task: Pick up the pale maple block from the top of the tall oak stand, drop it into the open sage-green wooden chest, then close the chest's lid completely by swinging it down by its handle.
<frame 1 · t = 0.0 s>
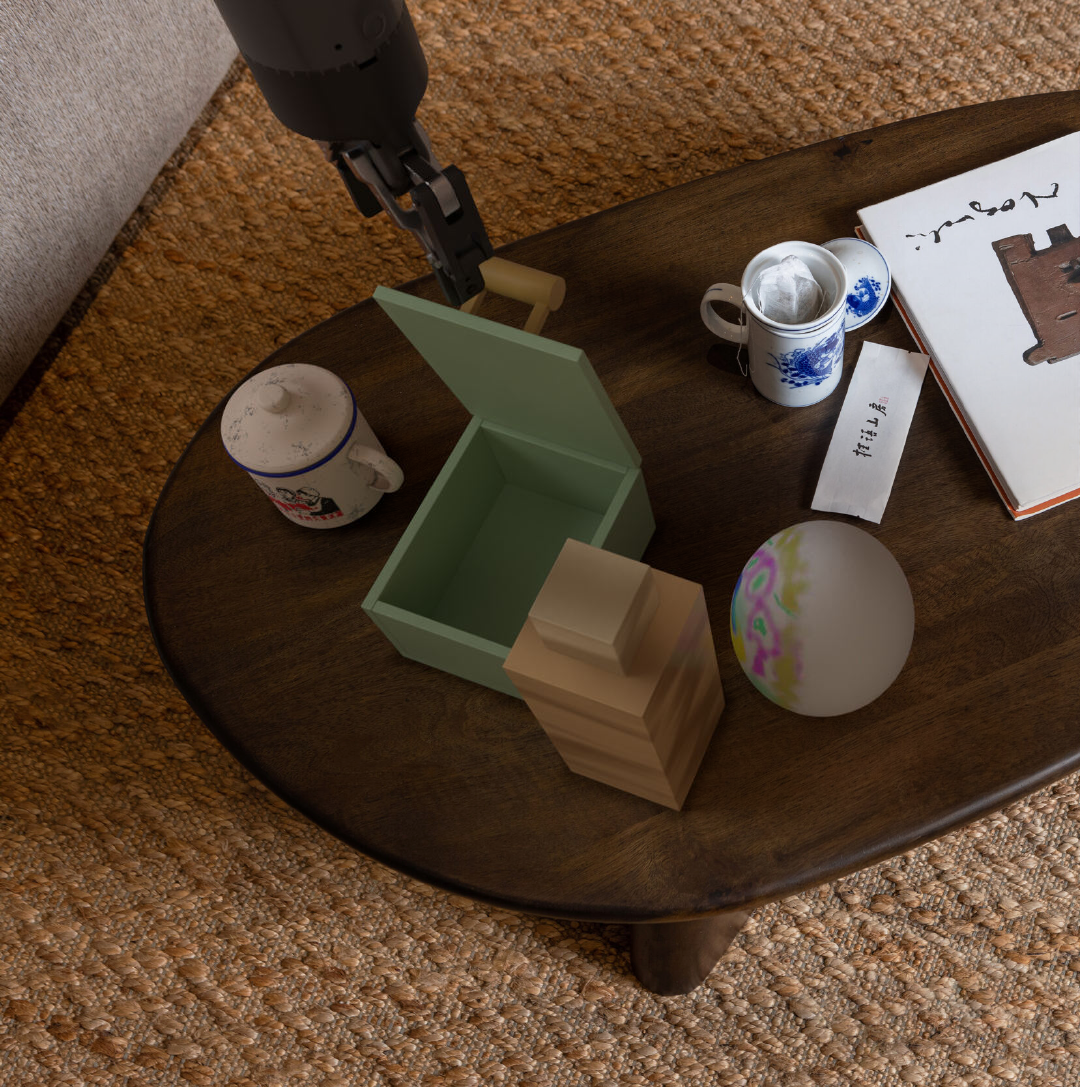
hand: (422, 250, 66), 26 cm above the table, tool pointing down, fingers open, 8 cm apart
block: (604, 625, 63), point 20 cm above the table, touching stand
stand: (649, 737, 81), on the table
chest: (533, 590, 85), on the table
decorative egg: (821, 653, 84), on the table
lid: (535, 353, 73), point 18 cm above the table, hinge at 80.0°
teacup with lid: (351, 487, 89), on the table
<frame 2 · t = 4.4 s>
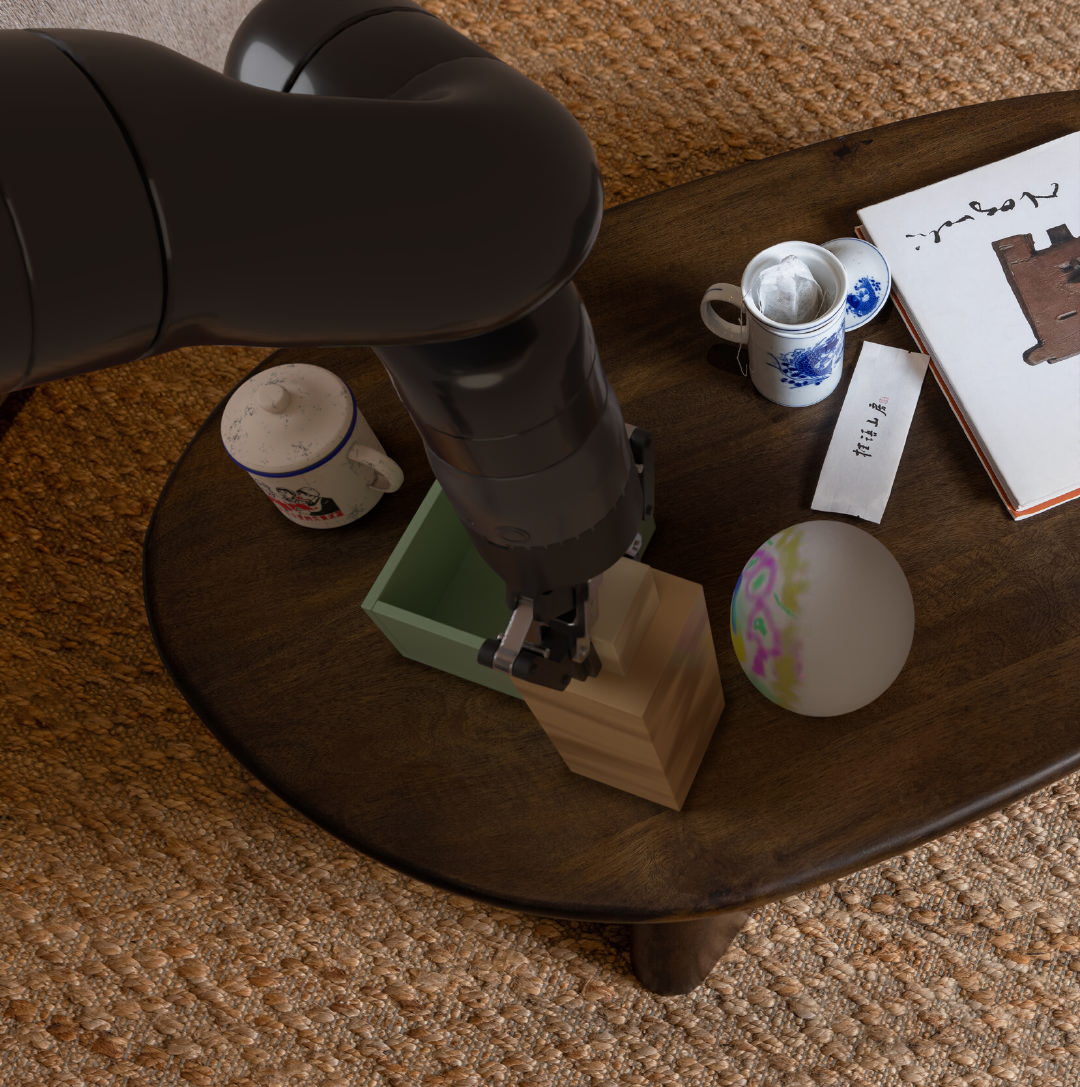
hand: (602, 623, 62), 20 cm above the table, tool pointing down, fingers closed on block, 4 cm apart
block: (603, 625, 63), point 20 cm above the table, touching gripper, stand
everything else where it was.
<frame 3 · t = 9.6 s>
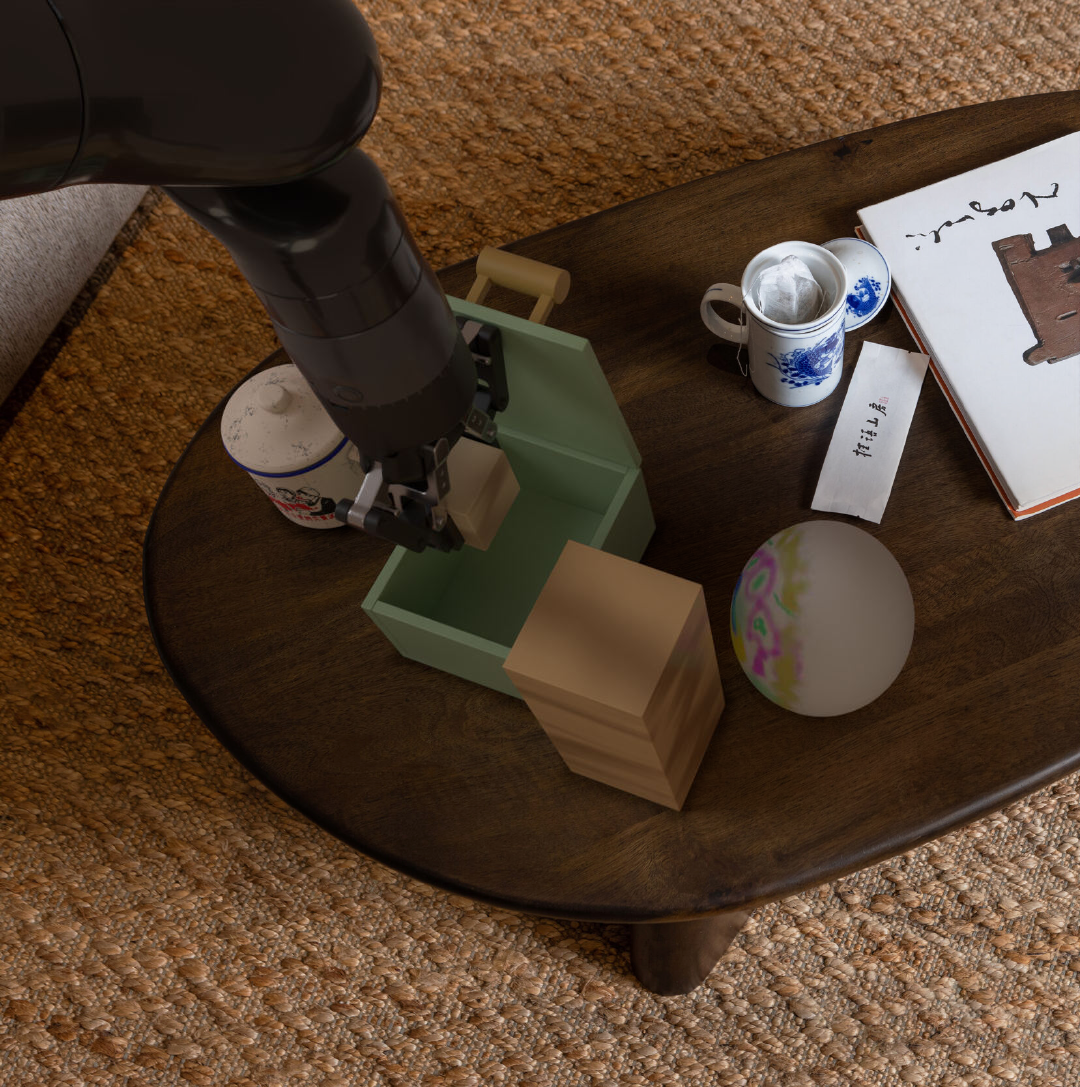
hand: (468, 505, 71), 15 cm above the table, tool pointing down, fingers closed on block, 4 cm apart
block: (469, 508, 71), point 15 cm above the table, touching gripper
lid: (538, 349, 73), point 18 cm above the table, hinge at 82.4°
everything else where it was.
when the fingers open (7 cm above the table, at t = 12.0 s): block drops 6 cm, resting on chest.
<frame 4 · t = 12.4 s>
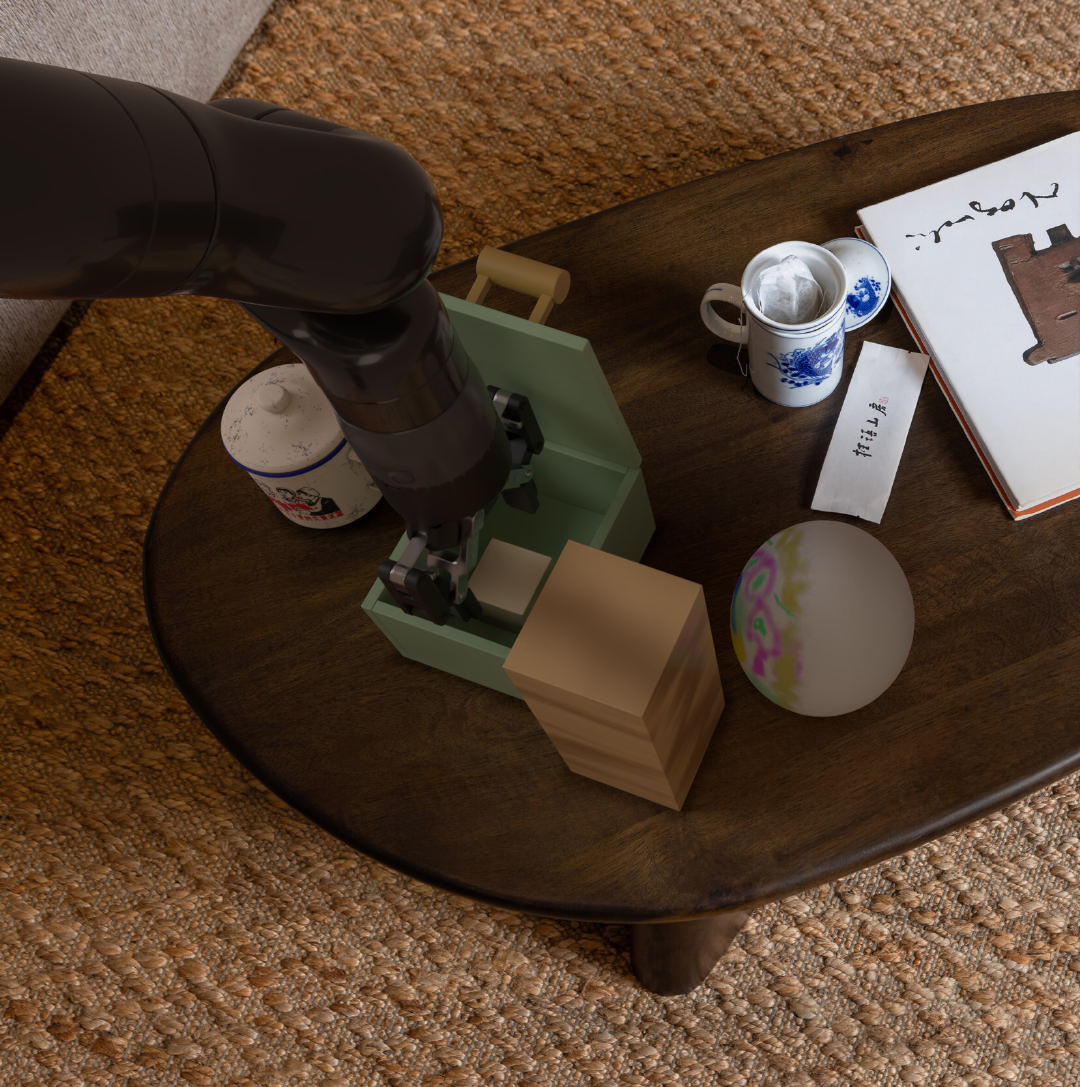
hand: (496, 557, 77), 8 cm above the table, tool pointing down, fingers open, 7 cm apart
block: (521, 602, 84), point 1 cm above the table, touching chest
everything else where it was.
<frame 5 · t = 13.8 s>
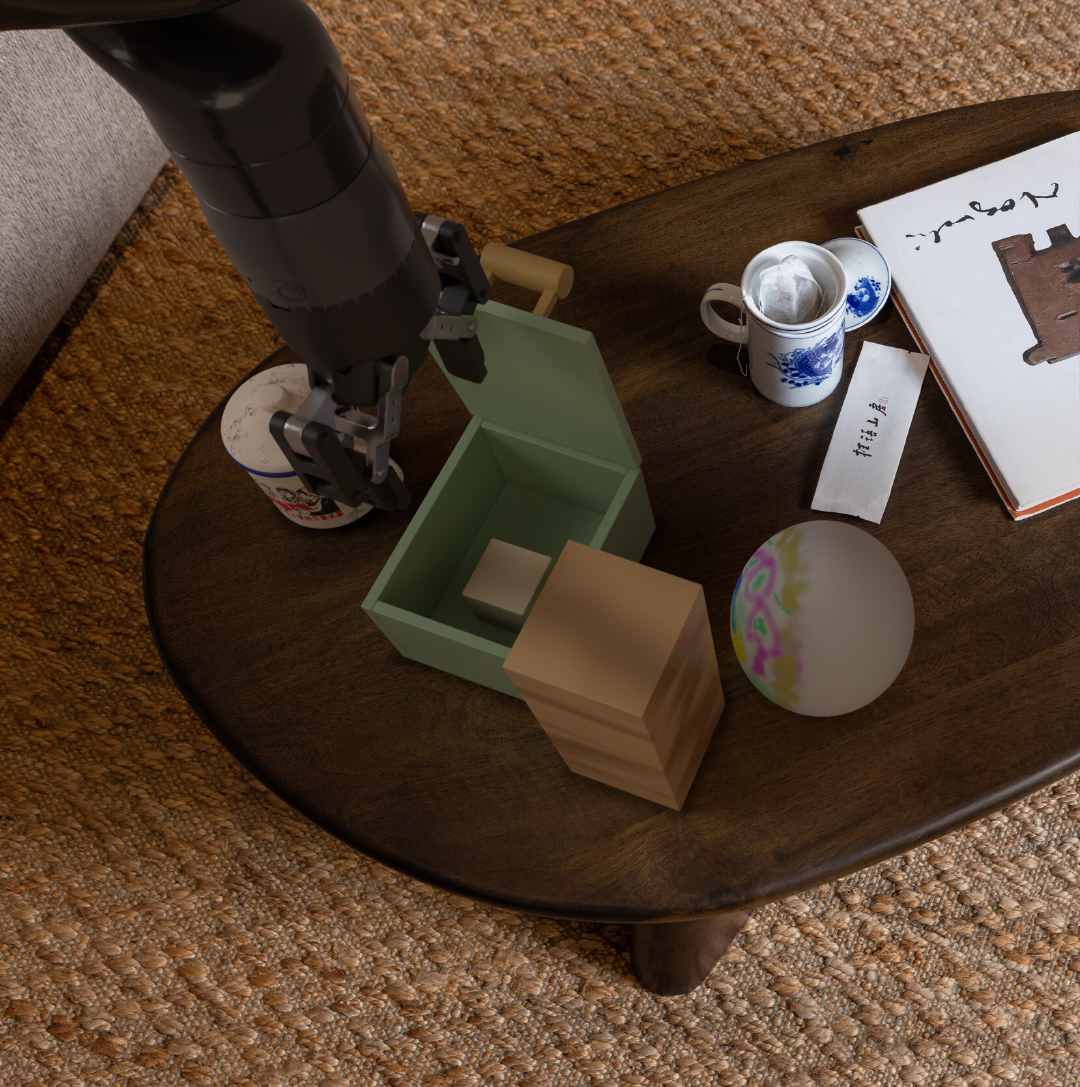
hand: (431, 436, 64), 23 cm above the table, tool pointing down, fingers open, 8 cm apart
lid: (540, 347, 74), point 18 cm above the table, hinge at 84.1°
everything else where it was.
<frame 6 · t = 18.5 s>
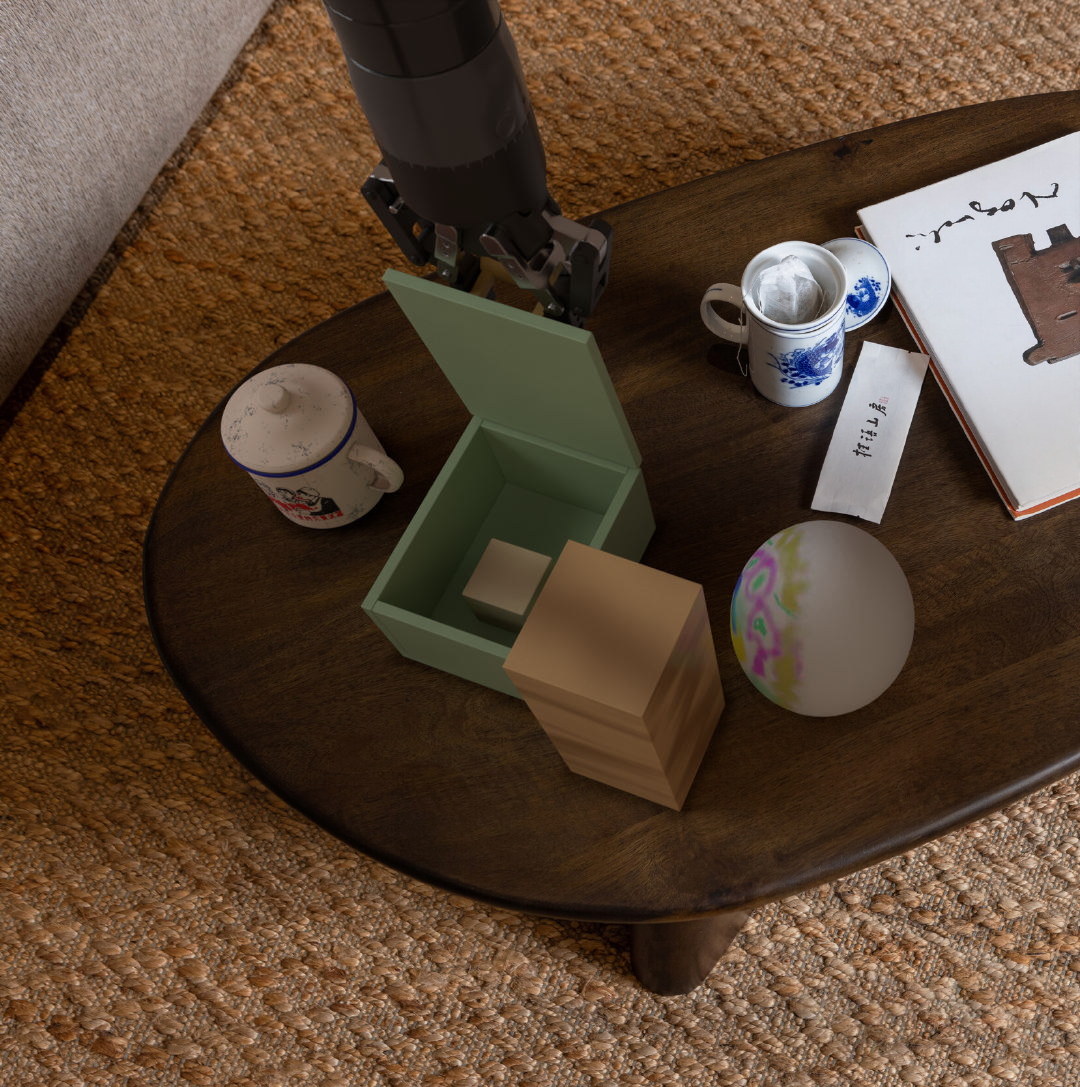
hand: (525, 322, 71), 21 cm above the table, tool pointing down, fingers closed on lid, 5 cm apart
lid: (540, 347, 74), point 18 cm above the table, hinge at 84.1°, touching gripper
everything else where it was.
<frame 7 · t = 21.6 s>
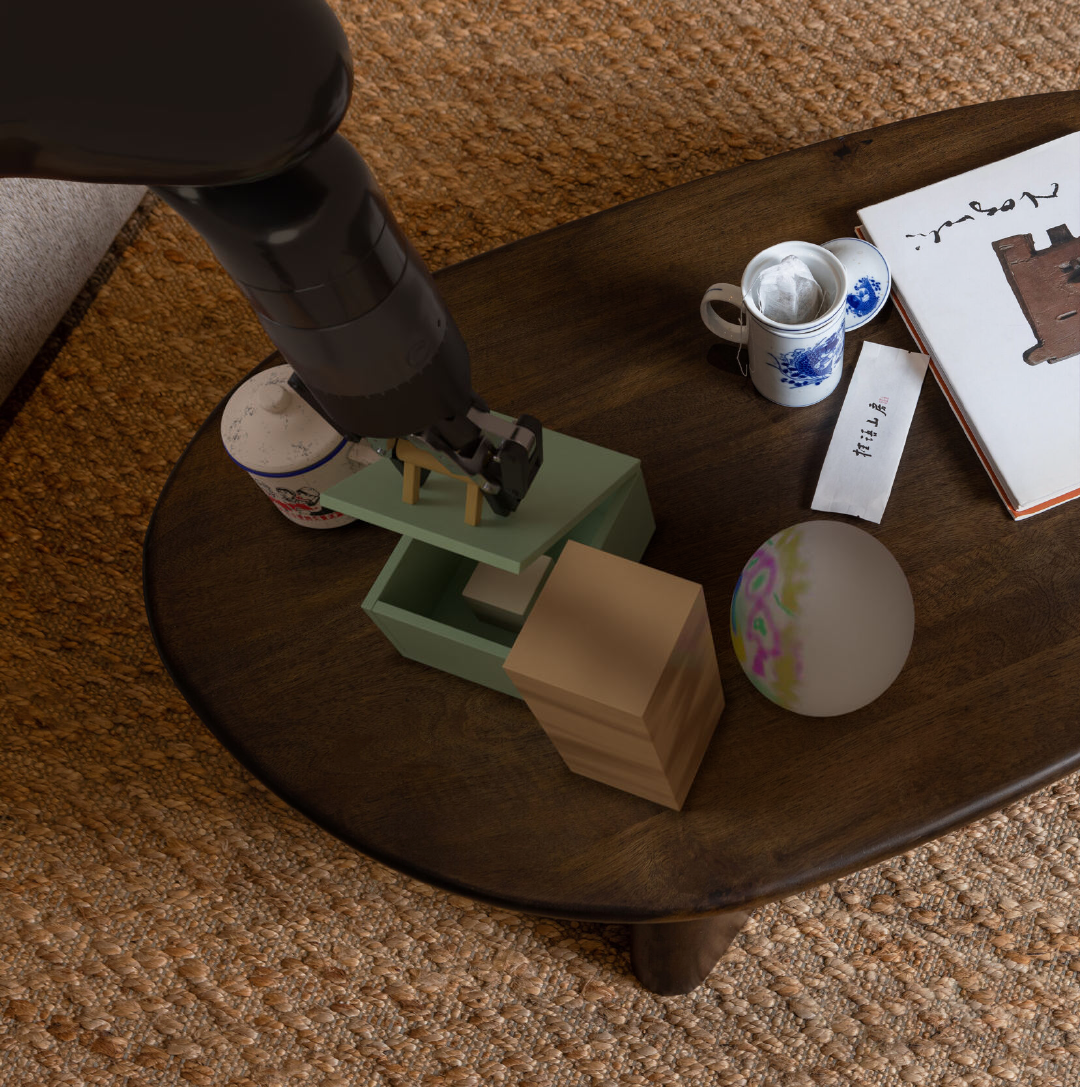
hand: (465, 486, 70), 17 cm above the table, tool pointing down, fingers closed on lid, 5 cm apart
lid: (497, 447, 72), point 16 cm above the table, hinge at 36.3°, touching gripper
everything else where it was.
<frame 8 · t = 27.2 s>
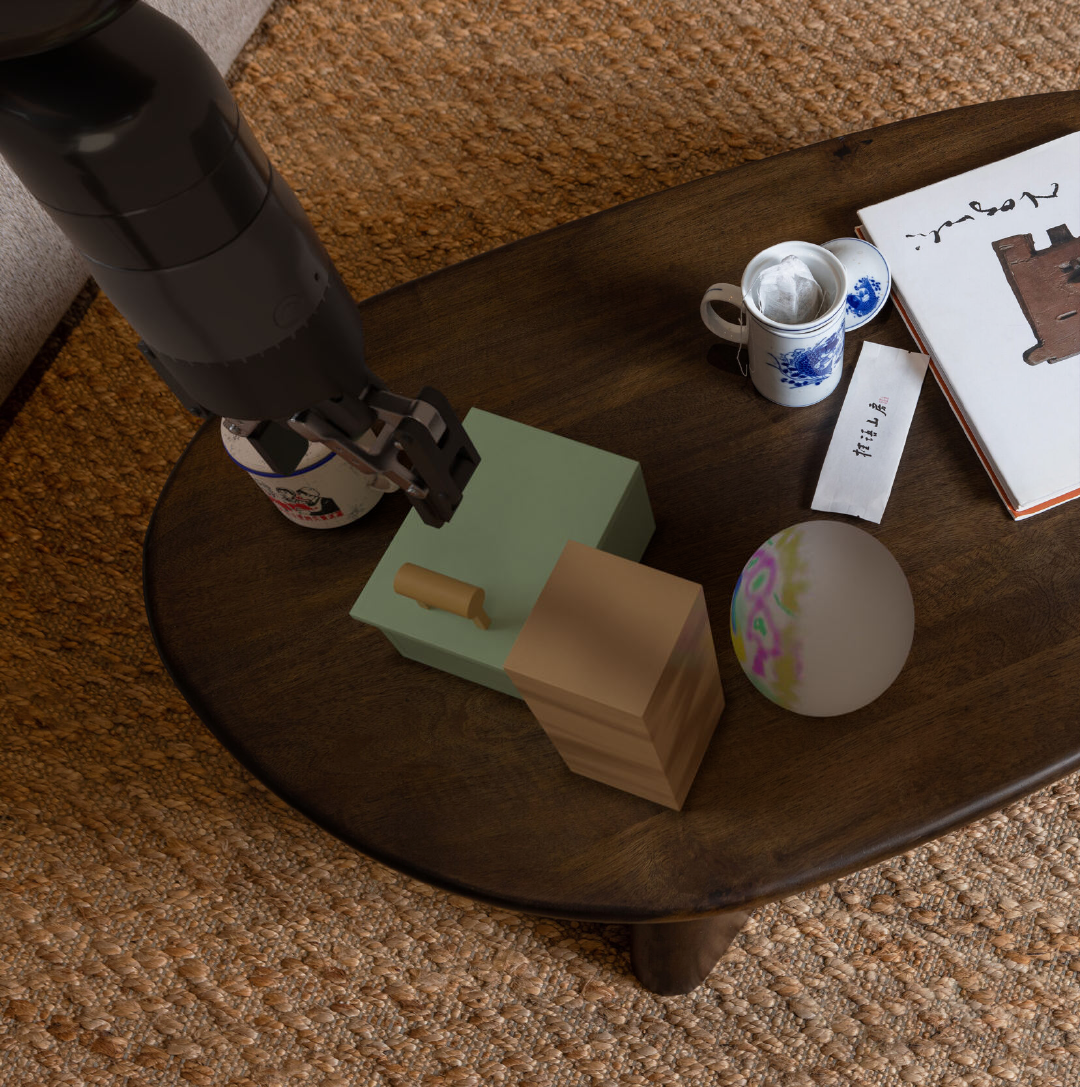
hand: (367, 485, 59), 26 cm above the table, tool pointing down, fingers open, 8 cm apart
lid: (492, 521, 75), point 12 cm above the table, hinge at -0.2°, touching chest
everything else where it was.
at the end: block inside the target area in the chest (1.4 cm from its centre), point 0.8 cm above the chest's base; lid at +0° (first picture: +80°) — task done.
